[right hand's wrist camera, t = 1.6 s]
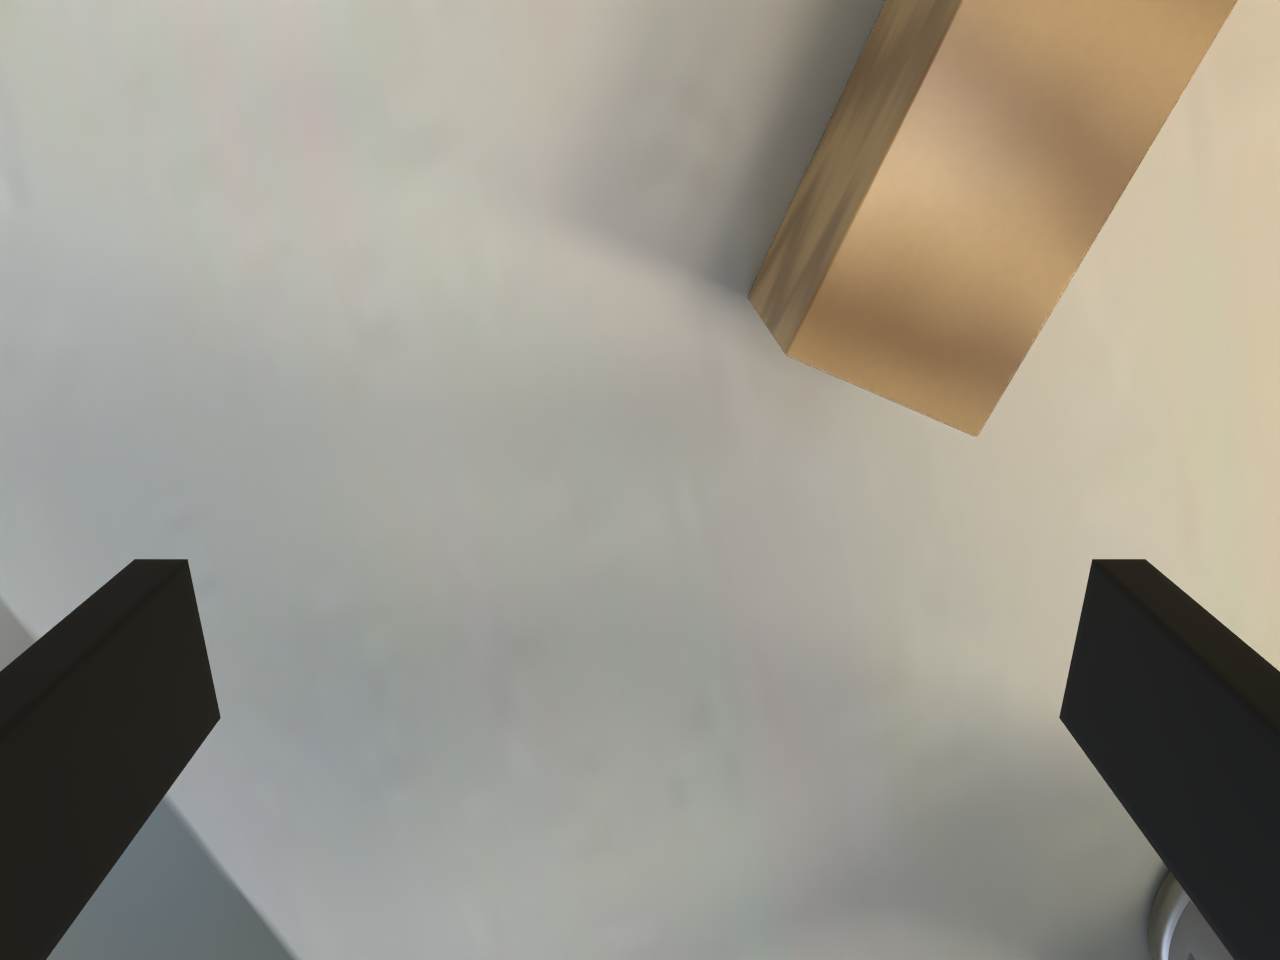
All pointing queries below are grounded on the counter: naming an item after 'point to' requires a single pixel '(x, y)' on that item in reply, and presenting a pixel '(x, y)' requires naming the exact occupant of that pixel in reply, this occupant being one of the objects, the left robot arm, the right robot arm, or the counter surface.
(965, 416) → the beam
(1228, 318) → the counter surface
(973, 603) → the counter surface
